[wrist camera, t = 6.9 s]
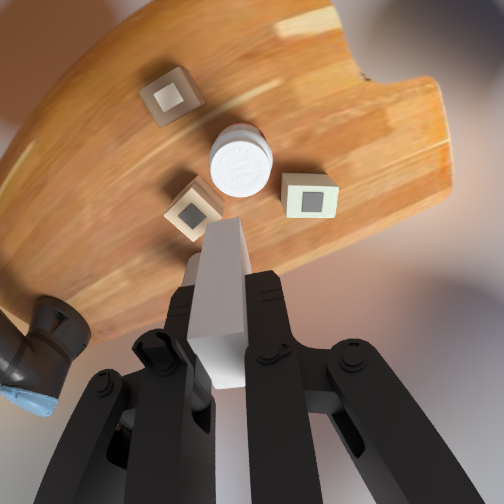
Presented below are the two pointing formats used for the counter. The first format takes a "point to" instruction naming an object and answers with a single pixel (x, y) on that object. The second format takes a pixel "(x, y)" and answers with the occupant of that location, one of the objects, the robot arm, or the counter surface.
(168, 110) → the walnut block
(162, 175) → the counter surface
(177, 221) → the beech block
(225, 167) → the pill bottle
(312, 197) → the sage block
